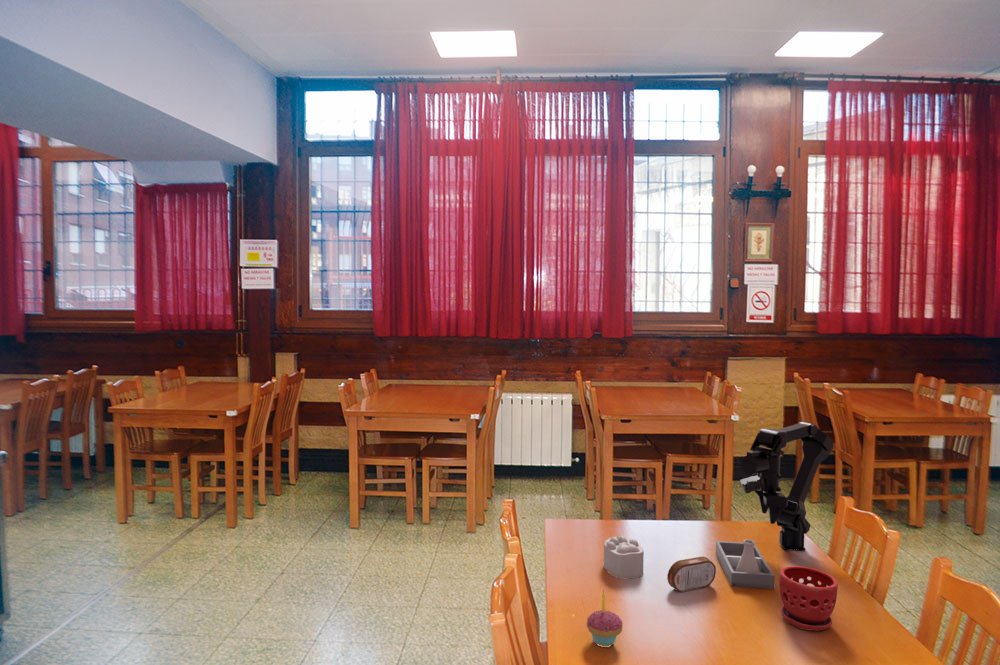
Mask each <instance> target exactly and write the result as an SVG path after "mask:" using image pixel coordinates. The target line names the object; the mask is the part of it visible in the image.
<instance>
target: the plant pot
mask: <svg viewBox="0 0 1000 665" xmlns="http://www.w3.org/2000/svg"><path fill="white" fill-rule="evenodd" d="M808 578H810V579H808ZM800 580H803V582H800ZM778 582H779V594H780V600H781V602H782V606H781V608H780V613H781V616H782V617H783V619H784V620H786V622H787V623H789V624H791V625H792V626H794V627H797V629H801V630H805V631H812V632H813V631H814V632H818V631H824V630H827V629H829V628H830V627H831V625H832V623H833V621H832V617H831V615H833V612H834V609H835V607H836V602H837V599H838V598H837V596H838V588H839V585H838V584H839V583H838V581H837V579H836V578H834V577H833V576H832V575H830V574H829V573H826V572H824V571H821V570H820V569H816V568H812V567H806V566H798V565H796V566H792V565H791V566H785V567H783V568H782V569H781V570H780V572H779V581H778ZM819 583H820V584H819ZM809 584H810V585H809ZM811 585H813V586H811Z"/></svg>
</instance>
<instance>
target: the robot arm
mask: <svg viewBox="0 0 1000 665" xmlns="http://www.w3.org/2000/svg"><path fill="white" fill-rule="evenodd" d="M797 440H800V441H801V442H802V446H801V450H802V453H803V454H802V455H803V458H802V460H801V464H800V466H799V469H798V471H797V473H796V476H795V478H794V481H793V484H792V486H791V489H790V491H789V494H788V495H787V496H786V495H785V494H783V493H782V488H781V486H780V480H781V479H782V475H781V473H780V472H781V471H780V470H781V469H780V468H781V456H783V455H785V452H784V451H783V449H784V448H786V447H787V444H788V443H790V442H793V441H797ZM833 448H834V442H833V440H832V439H831V437H830V436H829V435H828V434H827V433H825V432H824V431H823V430H821V429H819V427H818V426H817V425H816V424H814V423H812V422H806V421H799V422H798V423H796V424H792V425H789V426H786V427H782V428H760V430H759V431H758V433H756V436H755V438H754V440H753V442H752V444H751V446H750V451H747V452H746V455H745V456H744V457H742V459H741V461H740V466H741V469H742V471H743V472H744V473H745V474H747V475H751V476H749V477H745V478H742V479H739V482H740V485H741V488H742V491H744V493H745V494H751V492H754V493H755V494H756V495H757V496H758V500H759V504H760V507H761V508H760V509H761V512H762V514H767V512H768V516H769V522H770V524H771V525H775V524H776V526H778V527H781V530H779V537H778V538H779V540H778V541H779V544H780V546H781V547H782V548H783V549H784V550H785V551H796V552H798V551H800V552H806V550H807V549H806V547H805V534H806V535H807V534H808V532H809V531H810V528H811V524H810V522H809V521H808V520H807V518H806V515H807V510H806V505H805V502H806V499H807V497H808V494H809V492H810V489H811V486H812V484H813V480H814V479H815V476H816V473H817V471H818V468H819V466H820V464H821V463H822V462H823V461H825V460H826V459H828V457H829V456H830V454H831V451H833Z"/></svg>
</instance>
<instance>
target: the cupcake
mask: <svg viewBox="0 0 1000 665" xmlns="http://www.w3.org/2000/svg"><path fill="white" fill-rule="evenodd" d="M601 602H602V604H601V607H602V609H600V610H596V611H593V612H592V613H591V614H590V615H589V616H588V617H587V621H586V627H587V629H588V632H590V634H591V636H592V639H593V643H594V642H595V643H596V644H599V645H602V646H609V645H612V644H615V642H616V638H617V636H619V635H620V634H621V633H622V632H623V620H622V619H621V618H620V617H619V615H617V614H616V613H614V612H612V611H610V610H606V594H605V591H604V589H602V593H601ZM595 643H594V644H595ZM596 644H595V645H596Z"/></svg>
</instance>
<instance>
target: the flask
mask: <svg viewBox="0 0 1000 665" xmlns="http://www.w3.org/2000/svg"><path fill="white" fill-rule="evenodd" d="M742 543H744V550H743V554H742V556H741V559H740V561H739V563H738V565H737V568H736V572H749V573H760V570H759V567H758V565H757V561H756V558H755V555H754V549H753V548H754V545H756V544H755V543H756V542H755V540H753V539H743V542H742Z"/></svg>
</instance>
